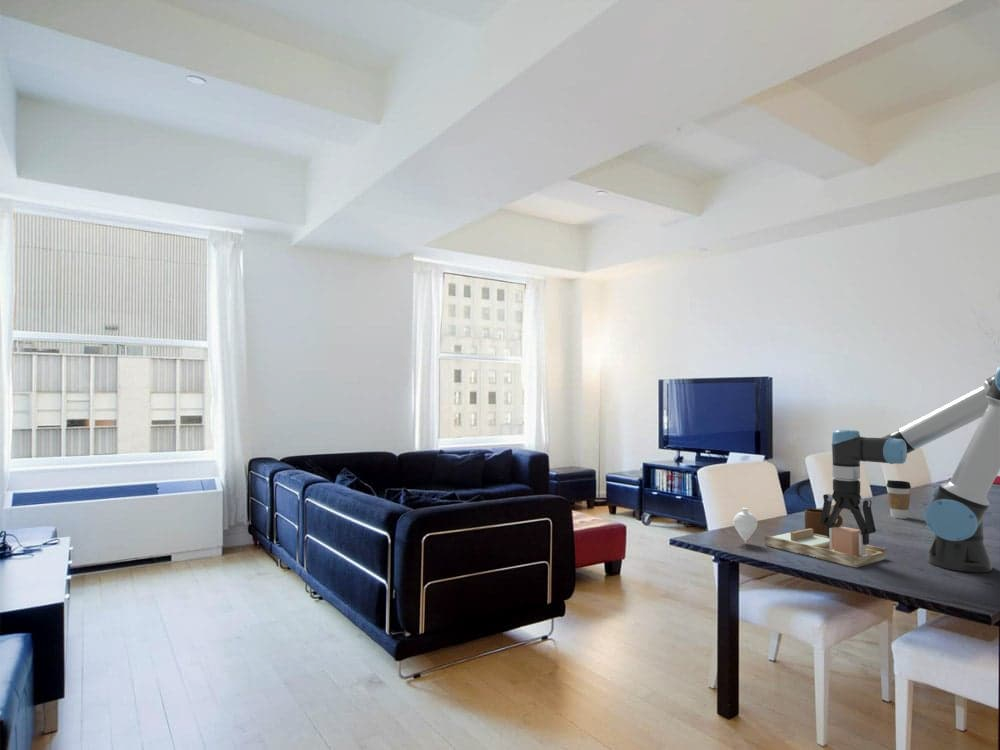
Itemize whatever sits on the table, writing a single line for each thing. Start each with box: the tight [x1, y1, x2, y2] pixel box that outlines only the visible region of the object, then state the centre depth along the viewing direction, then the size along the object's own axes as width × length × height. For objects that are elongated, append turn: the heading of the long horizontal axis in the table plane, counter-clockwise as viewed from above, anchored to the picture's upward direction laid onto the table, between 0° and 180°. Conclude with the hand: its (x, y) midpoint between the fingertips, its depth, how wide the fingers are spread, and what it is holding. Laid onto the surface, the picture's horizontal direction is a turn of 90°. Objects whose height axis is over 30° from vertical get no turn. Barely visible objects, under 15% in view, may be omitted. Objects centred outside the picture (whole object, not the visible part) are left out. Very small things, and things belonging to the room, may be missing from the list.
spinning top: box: [732, 507, 758, 544], centre depth 203 cm, size 8×8×12 cm
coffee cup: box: [886, 479, 912, 520], centre depth 244 cm, size 8×8×15 cm
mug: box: [804, 508, 844, 536], centre depth 210 cm, size 12×8×9 cm, turn 51°
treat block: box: [834, 526, 861, 557], centre depth 186 cm, size 6×6×8 cm
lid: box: [771, 528, 829, 547], centre depth 198 cm, size 14×15×3 cm
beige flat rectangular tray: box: [764, 529, 887, 568], centre depth 192 cm, size 30×17×3 cm, turn 31°
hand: (847, 551), depth 186 cm, fingers open, 8 cm apart
